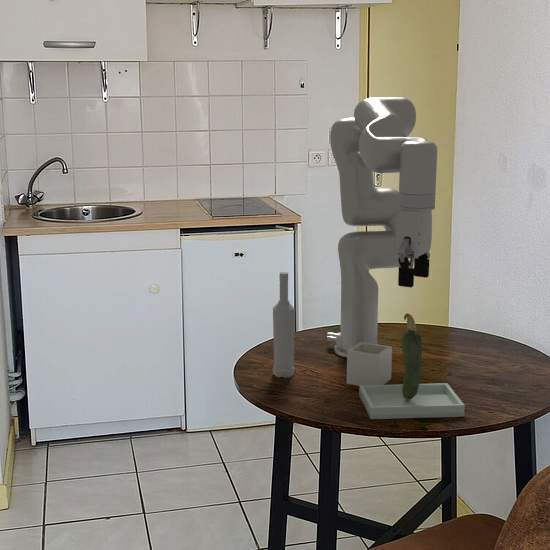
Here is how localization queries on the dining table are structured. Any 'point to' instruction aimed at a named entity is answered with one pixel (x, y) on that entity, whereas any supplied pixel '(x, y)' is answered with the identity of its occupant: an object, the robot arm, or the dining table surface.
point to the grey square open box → (369, 364)
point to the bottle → (283, 332)
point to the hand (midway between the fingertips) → (413, 281)
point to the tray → (411, 401)
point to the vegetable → (411, 359)
